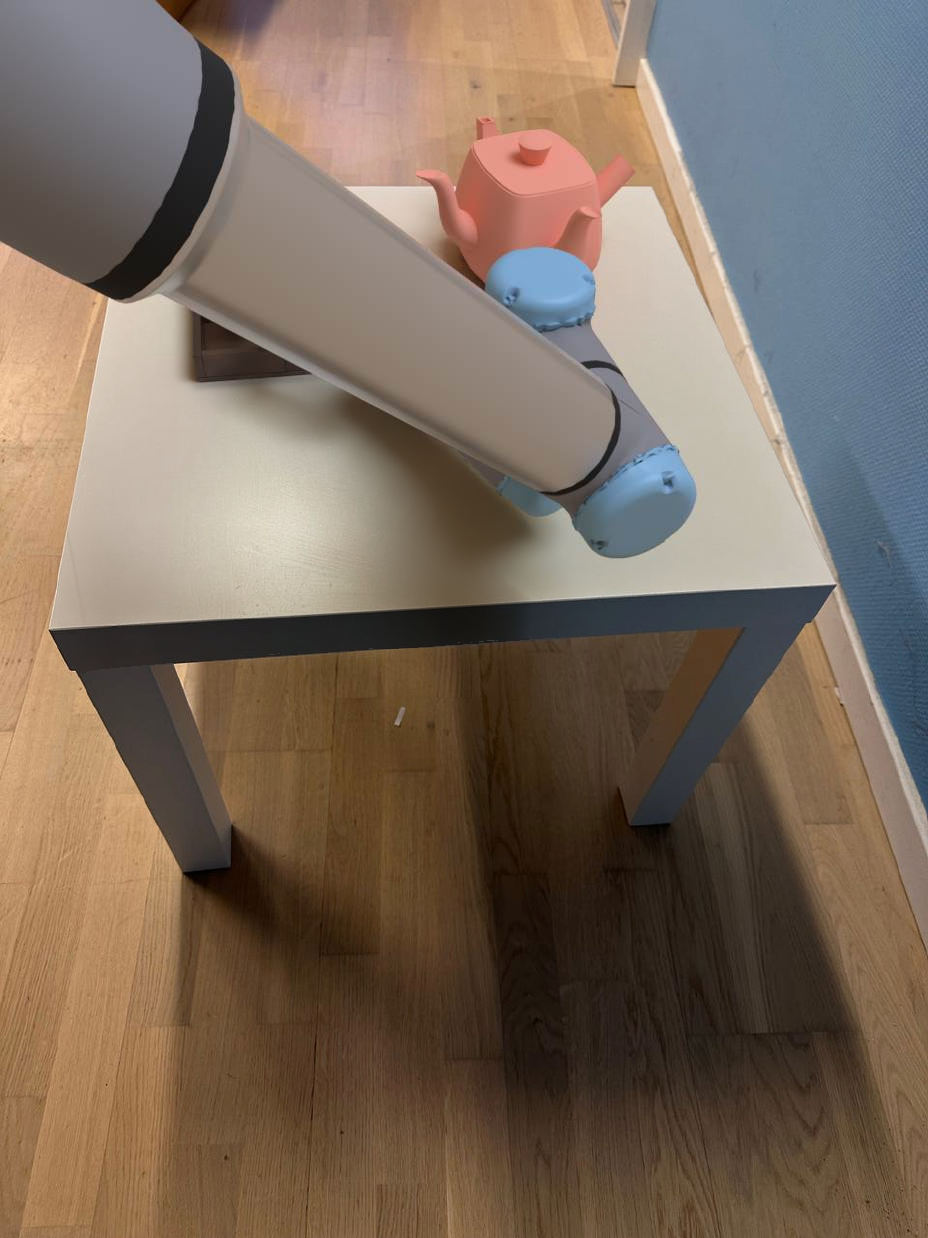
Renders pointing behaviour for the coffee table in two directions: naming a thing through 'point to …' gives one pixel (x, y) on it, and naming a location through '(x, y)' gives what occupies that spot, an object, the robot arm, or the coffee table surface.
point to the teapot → (525, 197)
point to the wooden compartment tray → (232, 355)
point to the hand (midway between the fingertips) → (300, 254)
